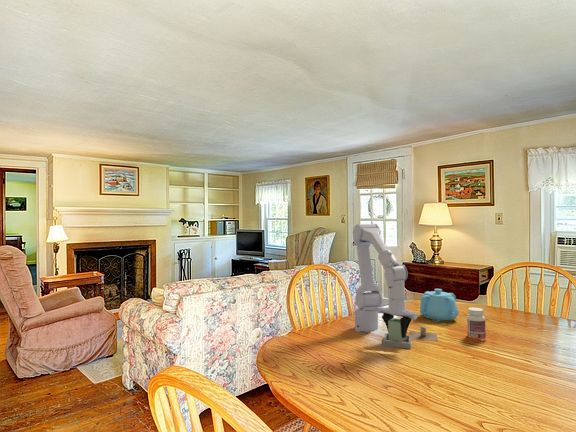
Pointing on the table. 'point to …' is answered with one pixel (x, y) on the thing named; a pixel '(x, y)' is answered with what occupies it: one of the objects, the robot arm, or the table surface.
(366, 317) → the robot arm
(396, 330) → the green sleeve
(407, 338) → the grey tray
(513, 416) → the table surface
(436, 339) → the pin block
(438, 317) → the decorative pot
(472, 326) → the pill bottle
